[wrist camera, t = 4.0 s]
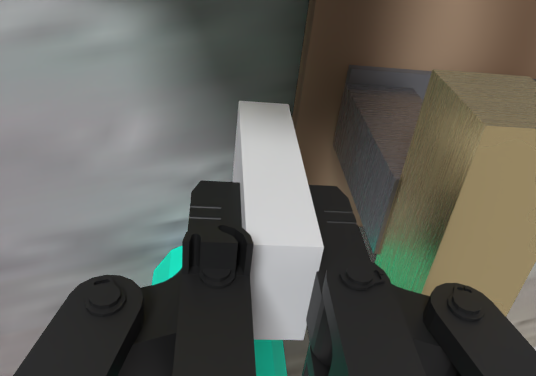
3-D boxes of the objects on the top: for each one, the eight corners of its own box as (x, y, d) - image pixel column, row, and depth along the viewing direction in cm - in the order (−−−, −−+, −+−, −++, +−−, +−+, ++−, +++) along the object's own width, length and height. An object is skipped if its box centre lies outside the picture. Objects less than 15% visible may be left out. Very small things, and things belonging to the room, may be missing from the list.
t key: (320, 206, 20) (374, 404, 13) (362, -2, 16) (480, 125, 8) (378, 208, 20) (463, 403, 13) (436, 4, 16) (609, 133, 9)
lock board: (279, 206, 22) (282, 229, 21) (319, -69, 16) (328, -62, 15) (550, 217, 24) (569, 239, 22) (680, -30, 18) (717, -20, 16)
